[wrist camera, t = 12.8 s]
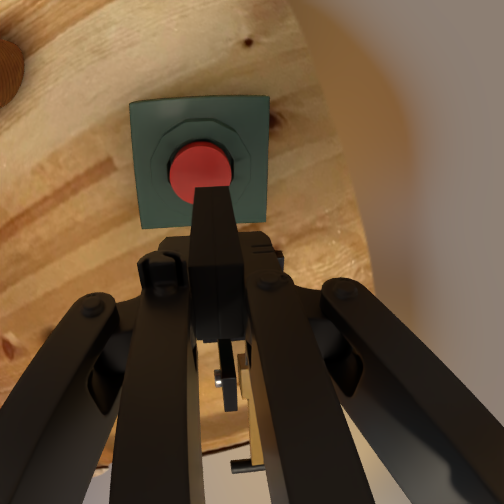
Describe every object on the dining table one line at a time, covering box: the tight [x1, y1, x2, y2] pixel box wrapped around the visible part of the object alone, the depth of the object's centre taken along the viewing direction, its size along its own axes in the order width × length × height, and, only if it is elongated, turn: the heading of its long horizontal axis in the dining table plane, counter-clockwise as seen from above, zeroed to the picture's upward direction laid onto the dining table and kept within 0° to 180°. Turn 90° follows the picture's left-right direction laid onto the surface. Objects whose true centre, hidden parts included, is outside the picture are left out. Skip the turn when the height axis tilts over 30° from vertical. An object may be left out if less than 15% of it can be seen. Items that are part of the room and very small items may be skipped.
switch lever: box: [230, 353, 265, 474], centre depth 25 cm, size 13×5×2 cm, turn 179°
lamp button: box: [170, 141, 232, 204], centre depth 21 cm, size 4×4×2 cm
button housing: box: [129, 95, 270, 229], centre depth 23 cm, size 10×10×4 cm
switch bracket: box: [203, 251, 284, 412], centre depth 27 cm, size 10×8×12 cm
